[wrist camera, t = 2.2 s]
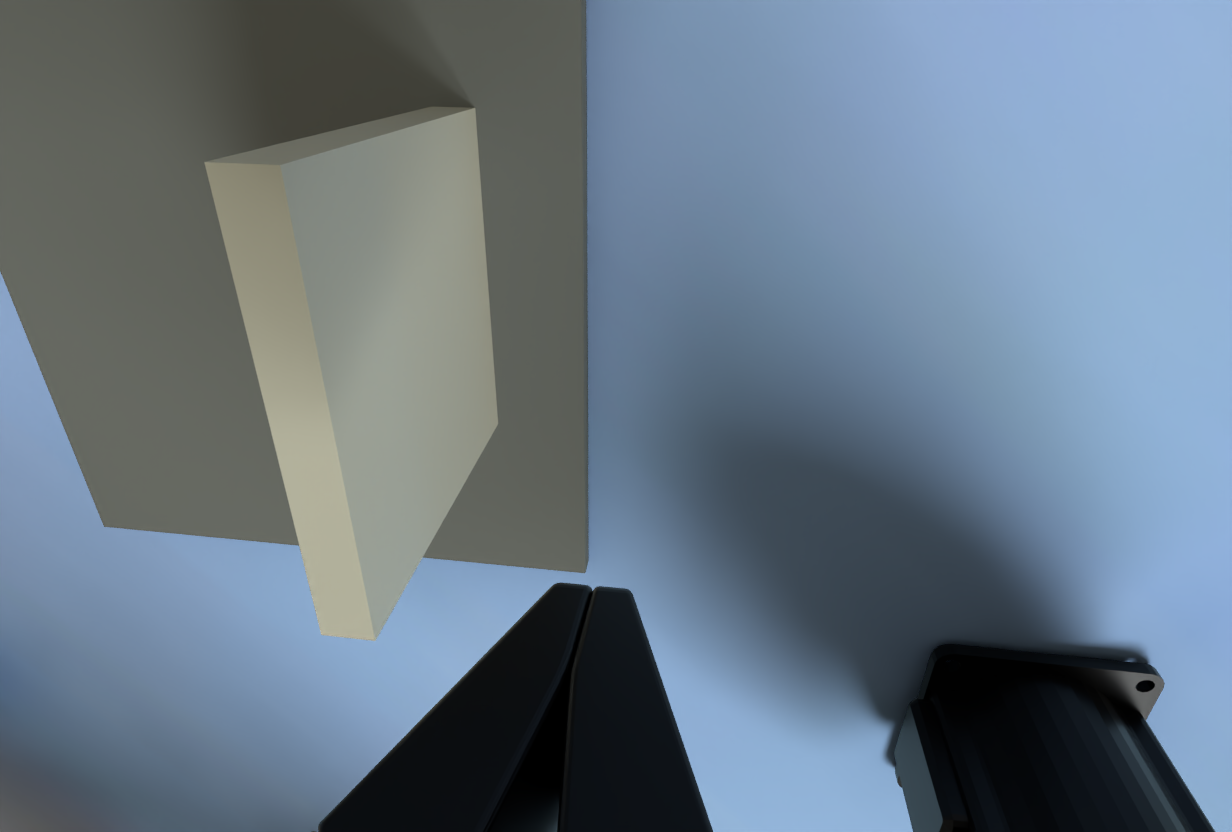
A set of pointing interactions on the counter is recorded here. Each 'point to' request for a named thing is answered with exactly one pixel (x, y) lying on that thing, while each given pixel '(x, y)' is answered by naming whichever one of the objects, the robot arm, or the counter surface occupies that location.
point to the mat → (198, 263)
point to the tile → (366, 340)
